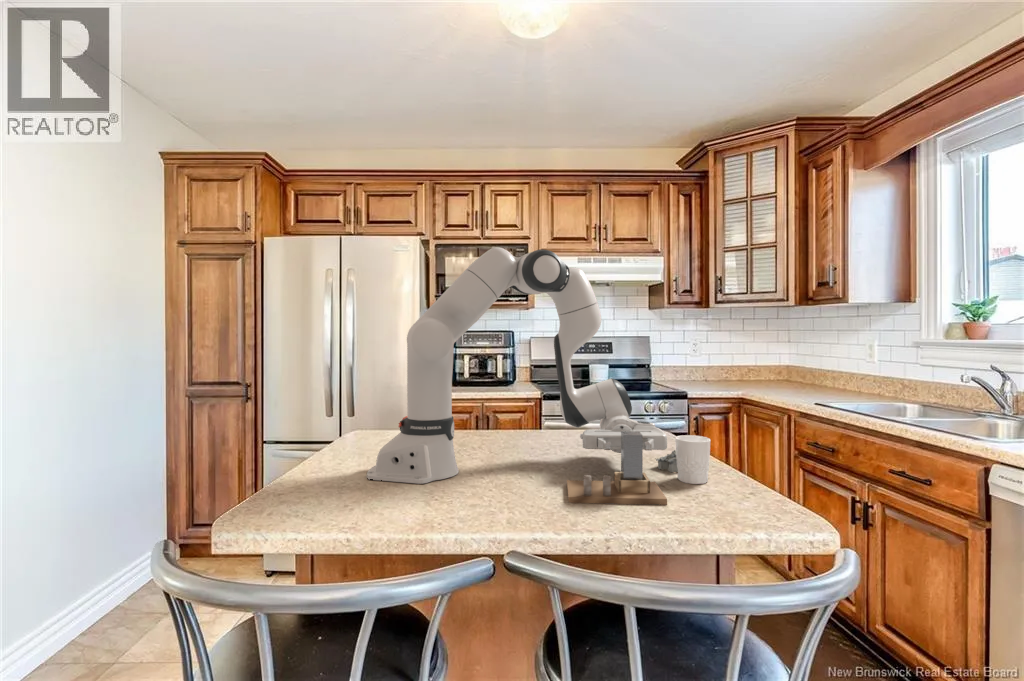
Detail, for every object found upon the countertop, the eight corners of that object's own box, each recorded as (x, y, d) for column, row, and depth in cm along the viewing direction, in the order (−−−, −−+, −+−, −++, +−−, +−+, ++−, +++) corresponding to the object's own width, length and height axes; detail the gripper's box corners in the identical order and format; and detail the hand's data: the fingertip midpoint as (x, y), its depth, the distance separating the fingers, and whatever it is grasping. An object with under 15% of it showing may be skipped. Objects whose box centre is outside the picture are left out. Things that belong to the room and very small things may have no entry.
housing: (568, 502, 105) (568, 477, 105) (566, 485, 117) (566, 462, 117) (667, 504, 104) (667, 479, 103) (655, 486, 116) (655, 464, 115)
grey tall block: (623, 490, 109) (623, 434, 109) (621, 484, 113) (621, 431, 113) (642, 490, 109) (642, 435, 109) (639, 485, 113) (639, 431, 113)
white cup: (715, 485, 117) (715, 441, 117) (681, 485, 117) (681, 441, 117) (703, 475, 125) (703, 435, 124) (671, 475, 125) (671, 435, 125)
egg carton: (680, 463, 138) (680, 448, 138) (703, 469, 131) (703, 453, 131) (652, 468, 132) (652, 452, 132) (675, 475, 126) (675, 458, 126)
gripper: (579, 422, 131) (582, 432, 118) (659, 422, 130) (672, 433, 116) (579, 446, 132) (582, 459, 118) (660, 447, 130) (672, 461, 116)
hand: (627, 446), depth 117 cm, fingers open, 8 cm apart
